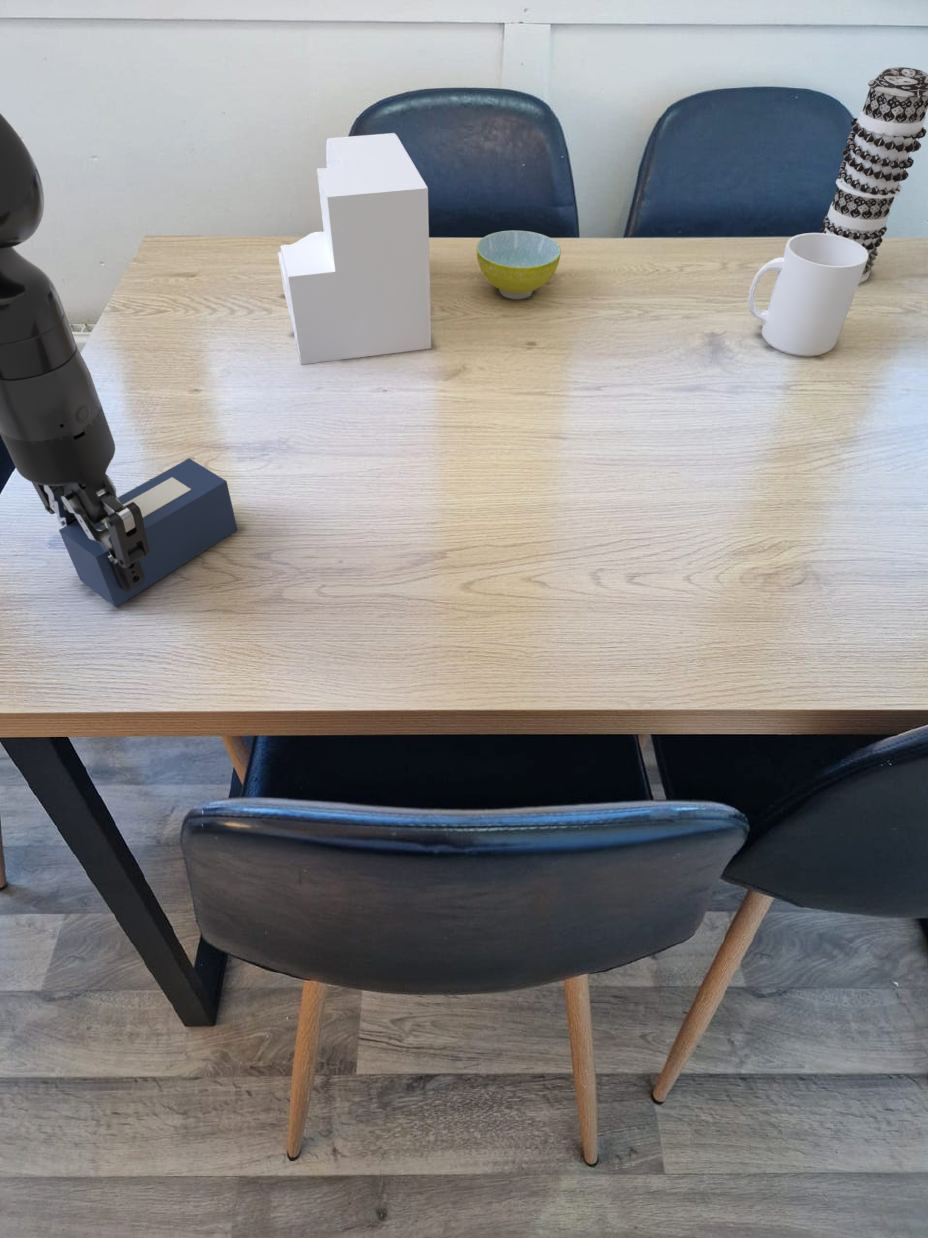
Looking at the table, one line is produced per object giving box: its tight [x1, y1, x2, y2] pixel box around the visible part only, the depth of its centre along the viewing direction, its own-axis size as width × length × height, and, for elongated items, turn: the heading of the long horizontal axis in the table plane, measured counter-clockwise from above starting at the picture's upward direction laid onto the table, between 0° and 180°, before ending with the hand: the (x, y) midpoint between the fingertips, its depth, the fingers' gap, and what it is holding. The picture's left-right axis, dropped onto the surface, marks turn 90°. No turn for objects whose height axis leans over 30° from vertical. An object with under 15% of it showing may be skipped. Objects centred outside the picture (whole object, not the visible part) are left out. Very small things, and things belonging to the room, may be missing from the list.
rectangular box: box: [58, 457, 238, 608], centre depth 77 cm, size 14×6×6 cm, turn 141°
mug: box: [747, 232, 868, 358], centre depth 104 cm, size 10×12×12 cm
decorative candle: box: [819, 66, 928, 284], centre depth 112 cm, size 9×9×25 cm
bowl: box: [476, 230, 562, 300], centre depth 114 cm, size 11×12×6 cm
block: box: [277, 132, 432, 365], centre depth 105 cm, size 25×16×19 cm, turn 15°
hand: (112, 569), depth 75 cm, fingers closed on rectangular box, 5 cm apart
